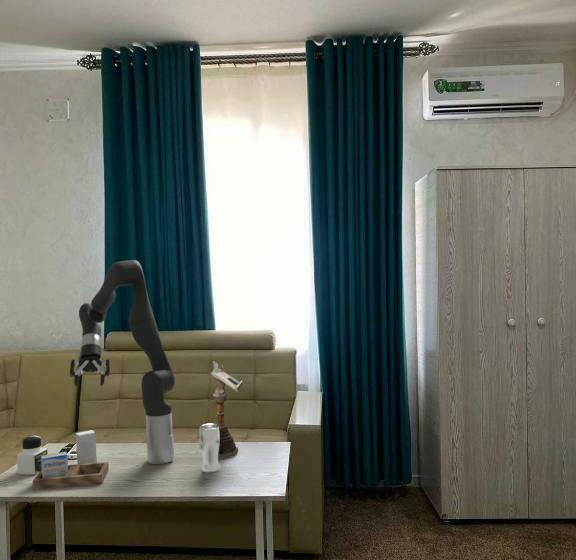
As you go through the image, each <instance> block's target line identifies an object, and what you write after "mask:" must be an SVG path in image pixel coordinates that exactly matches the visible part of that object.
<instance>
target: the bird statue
mask: <svg viewBox="0 0 576 560" xmlns="http://www.w3.org/2000/svg"><path fill="white" fill-rule="evenodd" d="M212 365H213V370H212V371H211V372H210V373H209V374H210V375H211V377H212V378H213V379H214V380H215V381H216V382H217V384H218V387H217V388H215V390H214V393H213V395H212V396H213V398H214V399H213V400H214V401H213V402H215V403H216V407H217V408H216V411H217V412H216V415H217V423H216V424H217V425H219V433H220V446H219V453H218V460H219V459H222V460H224V459H228V458H233V457H236V455H237V454H238V453H239V447H237V446H236V443H235V441H234V437H233V435H232V434H231V433H230V431H229V430H228V429H229V428H228V425H227V424H226V423H225V409H224V408H225V406H224V404H225V402H226V401H227V395H228V394H227V393H226V389H225V388H224V387H225V386H228V387H229V388H231V389H232V390H233V391H234V393H238V390H239V389H241V387H242V386H243V380H242V379H241V380H240V381H239V380H237V379H236V378H234V377H233V376H231V375H229V374H228V373H227V372H225V371H224V368H225V367H224V364H221V366H220V368H219V364H218V362H216V361H212Z"/></svg>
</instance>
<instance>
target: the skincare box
mask: <svg viewBox="0 0 576 560" xmlns="http://www.w3.org/2000/svg"><path fill="white" fill-rule="evenodd" d="M96 442H97V440H96V432H95V431H94V430H93V429H91V430H85V431H80V432H76V433H75V443H76V447H75V448H76V460H77V461H76V462H77V464H86V463H98V459H97V443H96Z"/></svg>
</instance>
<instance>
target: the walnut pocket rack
mask: <svg viewBox="0 0 576 560" xmlns="http://www.w3.org/2000/svg"><path fill="white" fill-rule="evenodd" d="M109 471H110V470H109V461H101V462H100V461H99V462H98V461H97V463H86V464H68V472H67V473H66V474H65V475H64V477H54V478H42V470H41V471H40V472H39V473H38V474H36V475H35V477H34V479H33V480H32V490H33V491H35V490H45V489H46V490H47V489H56V488H57V489H58V488H69V487H80V486H90V485H91V486H92V485H103V484H104V481H105V478H106V476H107V474H108V473H109Z"/></svg>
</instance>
